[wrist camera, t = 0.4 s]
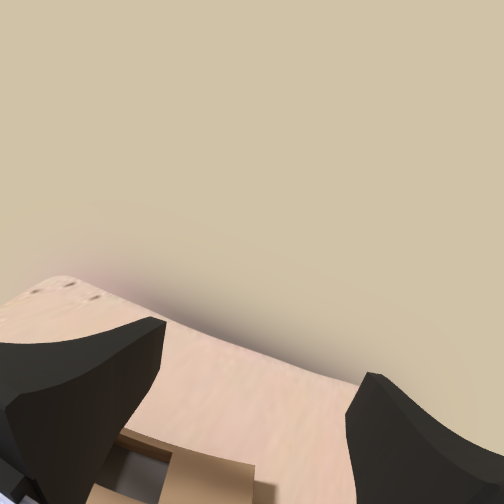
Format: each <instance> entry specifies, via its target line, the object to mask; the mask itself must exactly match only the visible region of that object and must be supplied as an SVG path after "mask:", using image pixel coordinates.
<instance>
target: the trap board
mask: <svg viewBox="0 0 504 504" xmlns="http://www.w3.org/2000/svg"><path fill="white" fill-rule="evenodd" d="M254 474H255V465H250V464H245V463H240V462H236V461H231V460H227V459H222V458H218V457H214V456H210V455H206V454H202V453H199V452H195V451H192V450H188V449H185V448H181V447H178V446H175V445H172V444H168V443H165V442H162V441H159V440H156V439H154V438H151V437H148V436H145V435H142V434H140V433H137V432H134V431H132V430H129V429H127V428H124V427H123V429H122V430H121V432H120V433H119V435H118V437H117V438H116V440H115V442H114V444H113V446H112V447H111V449H110V451H109V453H108V455H107V457H106V459H105V461H104V463H103V466H102V468H101V470H100V472H99V474H98V476H97V478H96V480H95V483H94V485H93V487H92V490H91V492H90V494H89V497H88V499H87V502H86V504H252V498H253V486H254Z"/></svg>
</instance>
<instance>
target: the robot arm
mask: <svg viewBox="0 0 504 504" xmlns="http://www.w3.org/2000/svg"><path fill="white" fill-rule="evenodd" d="M166 323H167V322H166V321H163V320H160V319H157V318H154V317H151V316H150V317H146V318H143V319H140V320H137V321H135V322H132V323H129V324H126V325H123V326H121V327H118V328H115V329H112V330H109V331H105V332H102V333H98V334H95V335H91V336H87V337H83V338H79V339H74V340H68V341H61V342H53V343H36V344H14V343H1V342H0V504H86V502H87V499H88V497H89V494H90V492H91V490H92V487H93V485H94V483H95V480H96V478H97V476H98V474H99V472H100V470H101V468H102V466H103V463H104V461H105V459H106V457H107V455H108V453H109V451H110V449H111V447H112V446H113V444H114V442H115V440H116V438H117V437H118V435H119V433H120V432H121V430H122V429H123V427H124V426H125V424H126V423H127V422H128V420H129V419H130V417H131V416H132V414H133V413H134V412H135V410H136V409H137V407H138V406H139V404H140V403H141V402H142V400H143V399H144V397H145V396H146V394H147V393H148V391H149V390H150V388H151V386H152V384H153V382H154V380H155V378H156V376H157V374H158V372H159V370H160V364H161V357H162V349H163V342H164V336H165V329H166ZM345 422H346V438H347V444H348V449H349V454H350V459H351V465H352V470H353V475H354V480H355V487H356V497H357V504H504V456H502V455H499V454H496V453H494V452H491V451H489V450H486V449H484V448H482V447H480V446H478V445H476V444H473V443H472V442H470V441H468V440H466V439H464V438H462V437H461V436H459V435H457V434H456V433H454V432H453V431H451V430H450V429H448V428H447V427H445V426H444V425H442V424H441V423H440V422H438V421H437V420H436V419H434V418H433V417H432V416H431V415H429V414H428V413H427V412H426V411H424V410H423V409H422V408H421V407H420V406H419V405H417V404H416V403H415V402H414V401H413V400H412V399H410V398H409V397H408V396H407V395H406V394H405V393H404V392H403V391H402V390H401V389H399V388H398V387H397V386H396V385H395V384H393V383H392V382H391V381H390V380H389V379H388V378H386V377H385V376H383V375H382V374H375V373H370V372H367V373H366V375H365V377H364V380H363V381H362V383H361V385H360V387H359V389H358V391H357V393H356V395H355V397H354V399H353V401H352V403H351V404H350V406H349V408H348V410H347V412H346V414H345Z"/></svg>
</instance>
